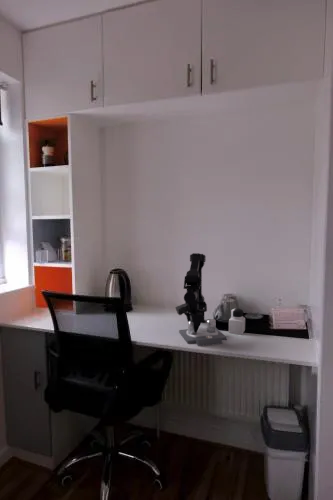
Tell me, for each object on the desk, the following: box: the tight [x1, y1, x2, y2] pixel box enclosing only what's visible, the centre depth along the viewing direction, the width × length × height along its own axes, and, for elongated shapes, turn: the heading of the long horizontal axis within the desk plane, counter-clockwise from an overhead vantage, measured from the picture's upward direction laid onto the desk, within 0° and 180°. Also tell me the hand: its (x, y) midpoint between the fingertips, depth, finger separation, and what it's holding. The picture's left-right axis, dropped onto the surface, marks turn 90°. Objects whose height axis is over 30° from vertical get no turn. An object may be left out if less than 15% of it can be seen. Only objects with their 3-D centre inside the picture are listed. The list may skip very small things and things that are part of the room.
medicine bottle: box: [228, 308, 246, 335], centre depth 171 cm, size 7×7×12 cm
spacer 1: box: [187, 320, 197, 335], centre depth 164 cm, size 4×4×6 cm
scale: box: [178, 326, 228, 347], centre depth 163 cm, size 20×20×3 cm
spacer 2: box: [206, 318, 217, 333], centre depth 166 cm, size 4×4×6 cm
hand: (192, 329), depth 164 cm, fingers open, 9 cm apart
